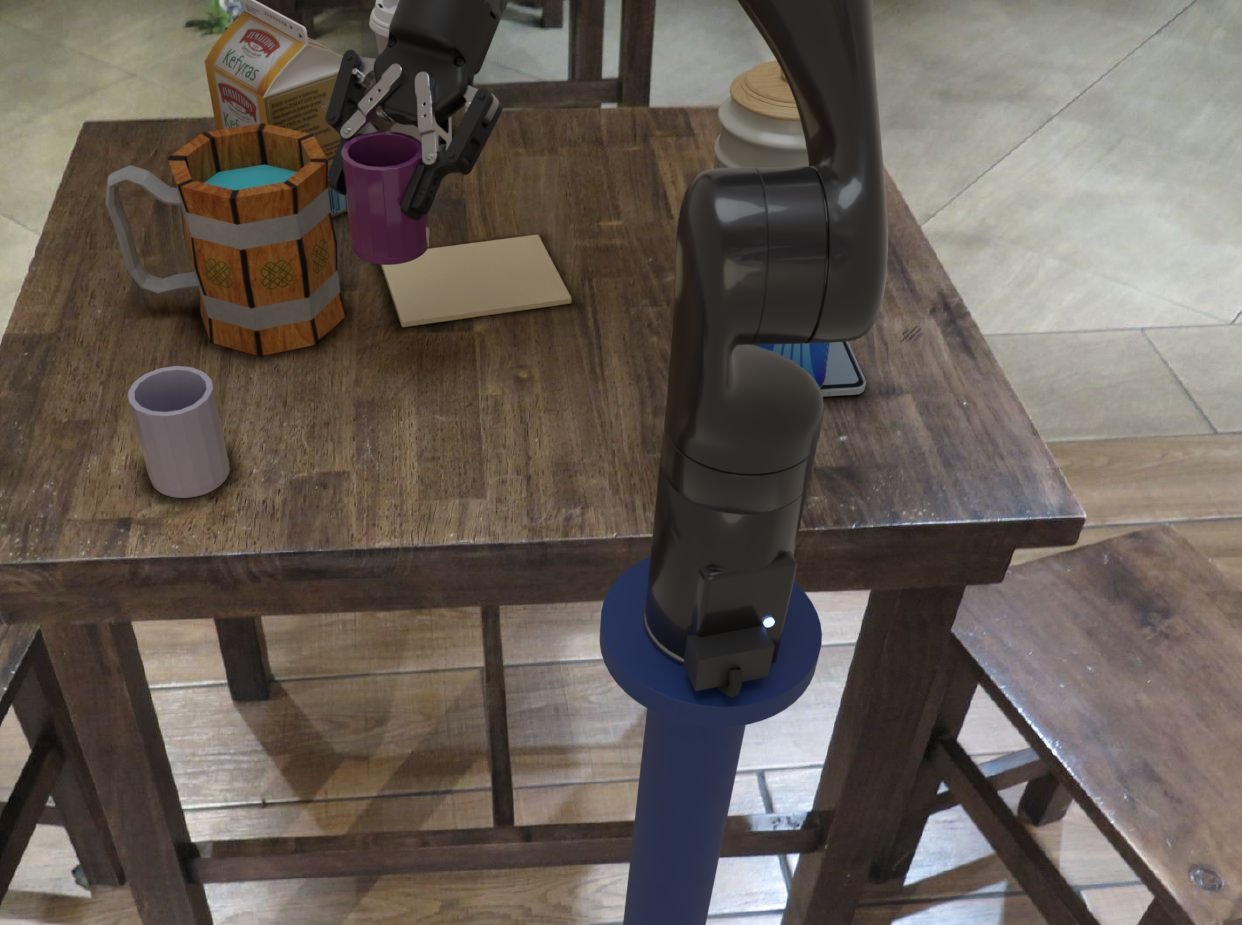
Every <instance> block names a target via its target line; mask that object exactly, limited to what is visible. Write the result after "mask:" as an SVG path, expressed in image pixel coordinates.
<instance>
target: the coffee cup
mask: <svg viewBox="0 0 1242 925" xmlns="http://www.w3.org/2000/svg"><path fill="white" fill-rule="evenodd" d="M398 2H399V0H375V4H374V7H373V9H372V10H371V12H370V16H369V21H368V25H369V28H370V30H372V31H373V32H374V35H375V41H376V47H377V53H378V56H379V55H380V54H381V53H382V51H383V50H384V49H385V47H386V46H387V44H388V38H389V26H390V23H391V20H392V18H393V15H394V13H395V10H396V8H397V5H398ZM451 124H452V125H453V115H452V116H451ZM390 132H400V133H404V134H407V135H411V136H413V137H415V138H416V139H418V140H419V141H421V135H420V133H419V130H418V128H417V127H415V126H414V125H402V124H399V123H396V124H395V125H394V126H393V127H392V128H391V129H390ZM421 143H422V141H421Z"/></svg>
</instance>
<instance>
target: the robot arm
mask: <svg viewBox="0 0 1242 925" xmlns="http://www.w3.org/2000/svg"><path fill="white" fill-rule="evenodd" d="M508 2H509V0H399V2H398V5H397V8H396V10H395V13H394V15H393V18H392V20H391V23H390V26H389V38H388V44H387V46H386V47H385V49H384V50H383V51H382V53H381V54H380V55H379V54H378V55H377V57H376V58H373V57H366V56H361V55H360V54H358V53H357V52H356V51H355V50H354V49H347V50H346V51H345V52H344V54H343V55H342V56H343V58H342V61H341V65H340V68H339V72H338V75H337V79H336V82H335V86H334V89H333V93H332V96H331V100H330V103H329V107H328V110H327V113H326V117H325V119H326V122H327V123H328V124H329V125H330V126H331V127H333V128H334V129H335V130H336V131H337V132H338V133H339V135H340V144H339V146H338V149H337V151H336V154H335V157H334V160H333V162H332V165H331V167H330V169H329V173H328V179H330V181H329V185H330V187H331V188H332V189H333V190H335V191H336V192H338V193H339V194H342V195H345V196H346V193H345V184H344V175H343V165H342V156H341V151H342V149H343V147H344V145H345V144H346V143H347V142H349V141H350V140H351V139H353V138H355V137H357V136H360V135H364V134H367V133H373V132H381V131H388V132H390V131H391V128H392V127H393V126H394V125H395V124H396V123H399V124H402V125H414V126H415V127H417V128H418V130H419V133H420V135H421V141H422V160H423V164H422V165H420V164H417V166H416V168H415V171H414V174H413V176H412V178H411V181H410V183H409V186H408V188H407V191H406V193H405V196H404V198H403V201H402V203H401V207H400V209H401V212H402V213H403V214H405V215H406V216H407V217H409V218H411V219H414V220H417V221H419V220H420V219H421V217H422V215H426V214H427V213H428V214H429V211H430V210H431V208H432V206H433V203H434V201H435V198H436V196H437V193H438V192H439V189H440V185H441V183H442V181H443V179H444V178H445V177H446V176H447V175H450V174H456V173H457V174H458V173H459V174H460V175H463V176H467V175H470V173H471V172H472V171H473V169H474V167H475V165H476V163H477V161H478V159H479V158H480V155H481V154H482V152H483V150H484V148H485V145H486V144H487V142H488V140H489V138H490V136H491V134H492V132H493V130H494V128H495V126H496V125H497V122H498V120H499V119H500V116H501V115H502V113H503V107H504V106H503V104H502V103H501V102H500V101H499V99H498V98H497V97H496V96H495V95H494V94H493V93H492V92H491V91H490V90H489V89H488V88H486V87H480V88H477V87H475V86H474V79H475V76H476V75H477V74H479V72H480V71H481V70H482V67H483V64H484V62H485V59H486V57H487V54H488V52H489V50H490V47H491V44H492V43H493V40H494V37H495V34H496V32H497V30H498V27H499V24H500V22H501V20H502V17H503V14H504V13H505V10H506V8H507V5H508ZM737 2H738V3H739V5H740V6H741V7H742V9H743V11H744V12H745V14H746V15H747V16H748V18H749V20H750V22H751V23H752V24H753V25H754V27H755V28H756V30H757V32H758V33H759V34H760V36H761V37H762V39H763V40H764V42H765V43H766V45H767V47H768V48H769V50H770V52H771V53H772V55H773V57H774V58H775V59H776V60H775V61H777V62H778V64H779V66H780V68H781V70H782V72H783V74H784V76H785V78H786V80H787V82H788V85H789V87H790V89H791V92H792V94H793V97H794V100H795V103H796V106H797V109H798V113H799V116H800V120H801V124H802V128H803V133H804V137H805V143H806V148H807V154H808V162H809V166H791V167H753V168H751V167H742V168H716V169H713V168H709V169H705V170H702V171H700V172H699V173H697V174H696V175H695V176H694V177H693V179H692V180H691V181H690V182H689V184H688V186H687V188H686V190H685V192H684V194H683V195H684V196H683V198H682V202H681V205H680V209H679V215H678V220H677V227H676V239H675V252H674V254H675V255H674V285H673V287H674V288H673V316H672V332H671V344H670V356H669V365H668V366H669V367H668V381H667V392H666V404H665V411H664V412H665V413H664V420H663V421H664V422H663V431H662V441H661V451H660V457H659V468H658V479H657V487H656V497H655V506H654V510H655V511H654V518H653V527H652V538H651V548H650V556H649V557H650V566H649V576H648V589H647V599H646V602H645V606H644V613H643V623H644V628H645V631H646V634H647V636H648V638H649V640H650V641H651V643H652V644H653V645H654V646H655V648H656V649H657V650H658V651H659V652H660V653H662V654H663V655H664V656H665V657H667V658H668V659H670V660H672V661H673V662H675V663H677V664H679V665H681V666H684V669H685V671H686V673H687V675H688V677H689V679H690V682H691V684H692V686H693V688H694V690H695V691H699V690H704V689H709V688H714V687H717V688H718V690H719V691H721V692H722V693H724V694H725V695H727V696H730V697H734V696H736V695H738V694H739V692H740V690H741V686H742V682H744V681H749V680H754V679H759V678H764V677H768V675H769V670H770V666H771V664H772V663H775V662H776V661H777V656H778V652H779V647H780V643H781V638H782V633H783V629H784V624H785V619H786V615H787V610H788V605H789V601H790V596H791V592H792V587H793V582H795V577H796V573H797V568H798V561H797V559H796V558H795V551H796V546H797V543H798V542H797V541H798V537H799V532H800V528H801V527H800V526H801V523H802V522H801V521H802V517H803V513H804V508H805V504H806V498H807V492H808V488H809V484H810V481H811V475H812V471H813V466H814V460H815V457H816V451H817V447H818V443H819V439H820V434H821V430H822V429H821V428H822V426H823V420H824V412H825V405H824V396H822V393H821V390H820V388H819V386H818V384H817V383H816V381H815V380H814V379H813V377H812V376H811V375H810V374H809V373H808V372H807V371H806V370H805V369H804V368H802V367H801V366H800V365H798V364H797V363H795V362H794V361H792V360H790V359H789V358H787V357H785V356H783V355H780V354H778V353H776V352H773V351H771V350H768V349H765V348H762V347H759V346H756V345H763V344H803V343H805V344H808V343H833V342H847V341H848V342H853V341H857V340H858V339H859V340H860V339H862V338H863V337H864V336H866V335H867V334H868V333H869V332H870V330H871V329H872V328H873V326H874V325H875V323H876V321H877V319H878V316H879V314H880V311H881V308H882V305H883V301H884V297H885V289H886V283H887V278H888V261H889V260H888V259H889V227H888V226H889V225H888V209H887V208H888V207H887V194H886V180H885V168H884V155H883V145H882V131H881V122H880V121H881V119H880V108H879V97H878V96H879V95H878V85H877V84H878V83H877V73H876V58H875V57H876V56H875V38H874V0H737ZM374 79H375V85H374V86H373V82H372V81H373V80H374ZM372 86H373V87H372ZM371 87H372V88H371ZM367 88H371V89H370V90H369V91H368V92H367V93H366V91H367ZM379 107H380V108H381V110H382V111H381V112H379V111H378V109H379ZM462 108H464V116H463V118H462V119H461V121H460V123H459V125H458V127H457V129H456V131H455V133H454V135H453V126H452V125H453V123H452V124H451V116H452V117H453V115H455V114H456V113H457V112H458V111H460V110H461V109H462Z"/></svg>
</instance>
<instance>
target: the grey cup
mask: <svg viewBox="0 0 1242 925" xmlns="http://www.w3.org/2000/svg"><path fill="white" fill-rule="evenodd" d="M127 400H128V405H129V408H130V412H131V415H132V419H133V422H134V427H135V431H136V434H137V438H138V442H139V445H140V449H141V453H142V457H143V460H144V464H145V468H146V471H147V475H148V478H149V480H150V483H151V485H152V487H153V488H154V489H155V490H156V491H157V492H159V493H160V494H161V495H164V496H167V497H171V498H175V499H176V498H177V499H190V498H197V497H200V496H203V495H206V494H209V493H211V492H213V491H215V490H216V489H218V488H219V487H221V486H222V484H224V483H225V481H226V480H227V478H228V477H229V474H230V470H231V467H230V461H229V455H228V449H227V446H226V440H225V435H224V430H223V426H222V421H221V417H220V411H219V407H218V406H219V405H218V402H217V396H216V393H215V388H214V384H213V379H212V378H211V377H210V376H209V375H208V374H207V373H206V372H205V371H203V370H200V369H198V368H195V367H192V366H183V365H173V366H166V367H160V368H157V369H153V370H151V371H149V372H146V373H144V374H143V375H141V376H140V377H139V378H137V379H136V380H135V381H134V382H133V383H132V385H131V386H130V388H129V390H128V391H127Z"/></svg>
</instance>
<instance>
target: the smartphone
mask: <svg viewBox="0 0 1242 925" xmlns="http://www.w3.org/2000/svg"><path fill="white" fill-rule="evenodd" d="M866 385H867V381H866V378H865V376H864V374H863V372H862V369H861V367H860V365H859V362H858V361H857V358H856V356H855V354H854V351H853V349H852V346H851V345H850V341H847V342H833V343H830V344H829V352H828V360H827V368H826V376H825V380H824V383H823V385H822V386H821V388H820V390H821V393H822V396H823V397H837V396H838V397H839V396H840V397H841V396H856V395H860V394H862V393H863V392H864V391H865V389H866Z"/></svg>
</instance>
